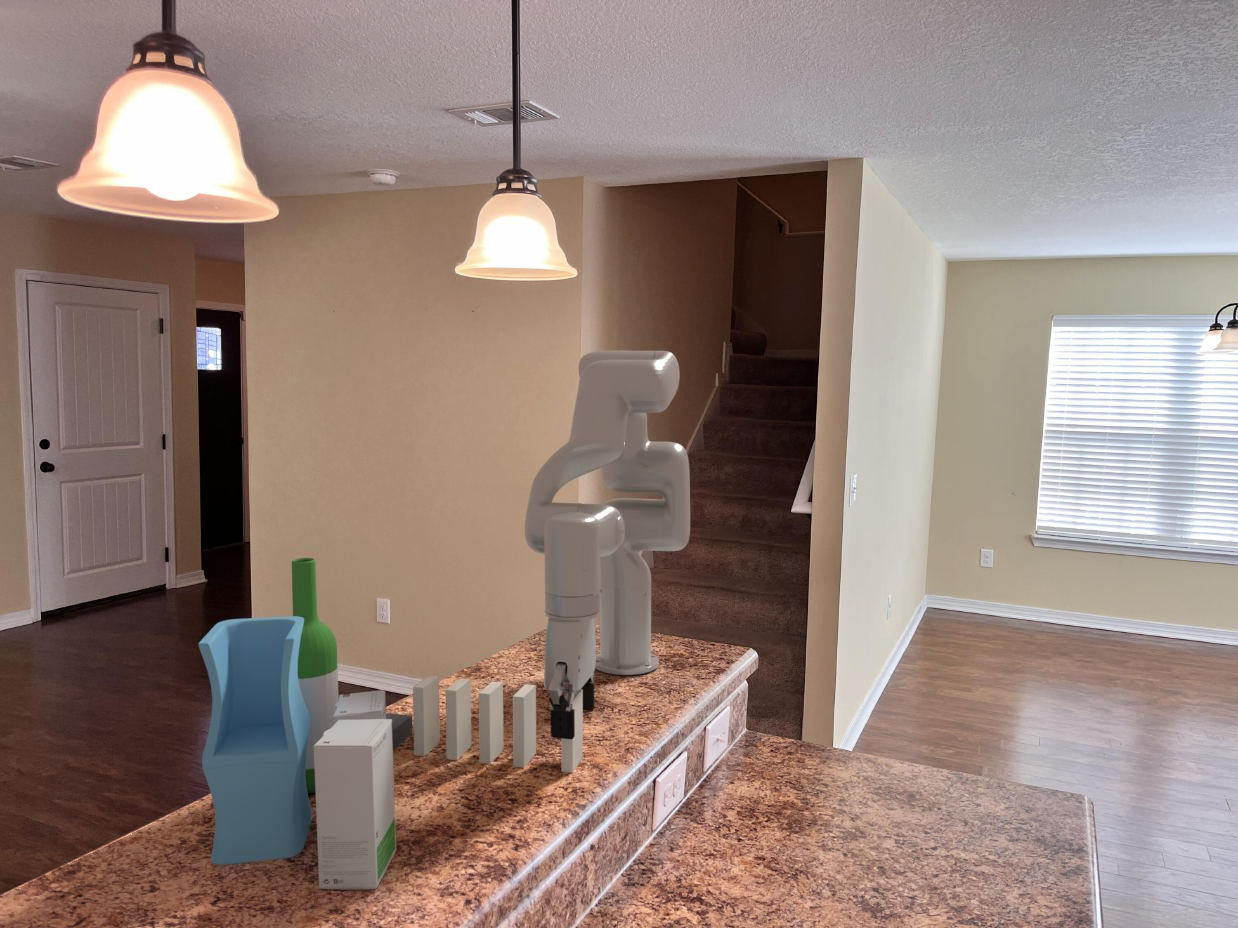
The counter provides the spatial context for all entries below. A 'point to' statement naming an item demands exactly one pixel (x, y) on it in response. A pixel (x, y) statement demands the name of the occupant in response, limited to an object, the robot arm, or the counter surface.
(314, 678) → the wine bottle
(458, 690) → the domino
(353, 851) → the skincare box
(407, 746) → the counter surface
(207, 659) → the blue chair
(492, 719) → the domino
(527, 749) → the domino
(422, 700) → the domino
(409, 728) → the block
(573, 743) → the domino
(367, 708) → the skincare box
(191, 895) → the counter surface
